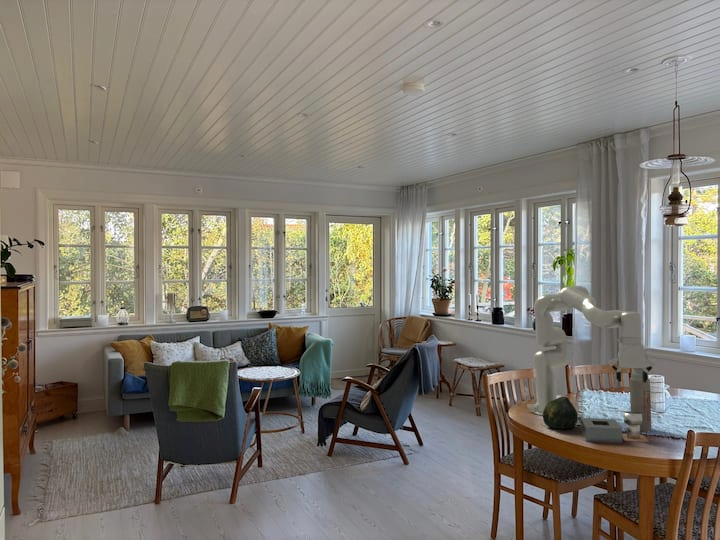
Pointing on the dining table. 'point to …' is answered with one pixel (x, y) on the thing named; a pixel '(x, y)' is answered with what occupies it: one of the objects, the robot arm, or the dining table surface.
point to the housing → (601, 430)
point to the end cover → (633, 423)
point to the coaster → (642, 439)
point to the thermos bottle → (641, 398)
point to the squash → (560, 414)
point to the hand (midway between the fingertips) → (631, 381)
